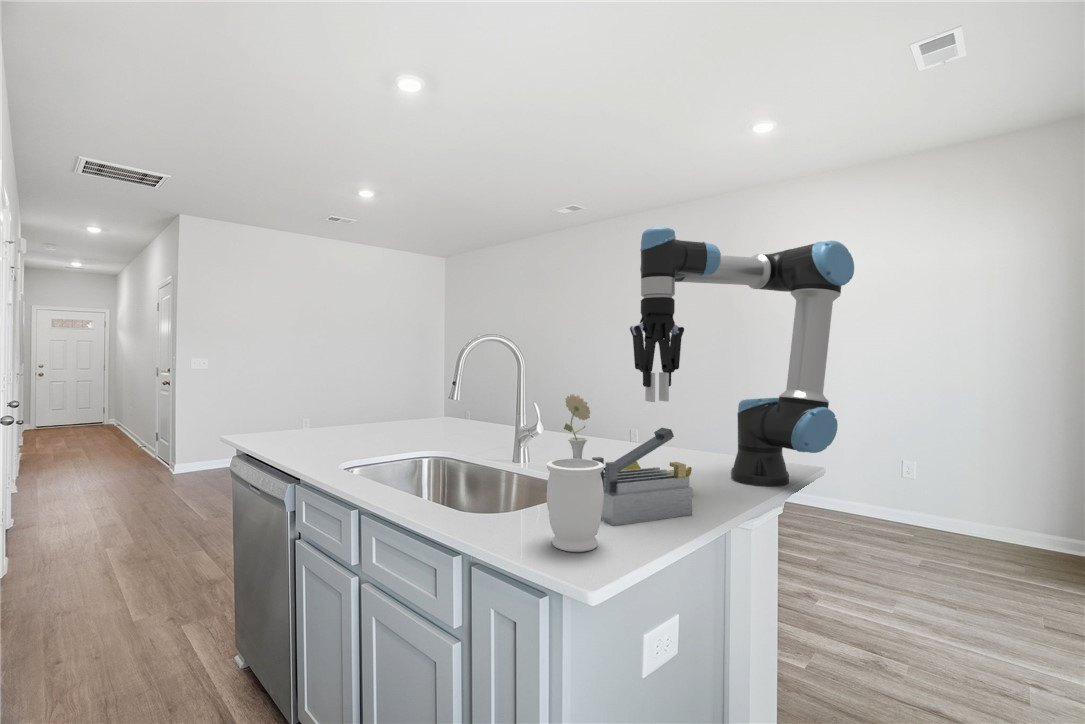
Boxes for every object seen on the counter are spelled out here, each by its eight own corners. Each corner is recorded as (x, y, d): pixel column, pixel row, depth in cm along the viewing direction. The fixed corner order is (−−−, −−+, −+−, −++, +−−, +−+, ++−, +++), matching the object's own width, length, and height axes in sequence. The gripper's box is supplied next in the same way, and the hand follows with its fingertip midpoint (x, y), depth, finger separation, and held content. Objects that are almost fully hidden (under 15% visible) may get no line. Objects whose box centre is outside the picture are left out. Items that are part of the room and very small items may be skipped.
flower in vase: (607, 497, 132) (608, 395, 132) (564, 501, 128) (565, 396, 128) (586, 485, 144) (586, 392, 144) (546, 488, 140) (546, 393, 140)
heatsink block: (655, 499, 130) (655, 449, 130) (692, 515, 117) (692, 460, 117) (581, 507, 122) (581, 455, 122) (612, 525, 109) (612, 467, 109)
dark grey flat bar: (613, 475, 115) (609, 467, 115) (604, 472, 118) (601, 464, 118) (674, 437, 121) (671, 429, 121) (664, 435, 124) (661, 427, 124)
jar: (615, 548, 96) (615, 465, 96) (568, 559, 91) (569, 471, 91) (580, 531, 105) (580, 455, 105) (535, 541, 100) (535, 461, 100)
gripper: (676, 300, 128) (676, 399, 128) (618, 297, 122) (617, 400, 122) (697, 297, 121) (696, 401, 121) (636, 294, 115) (635, 403, 115)
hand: (657, 401), depth 121 cm, fingers open, 3 cm apart
